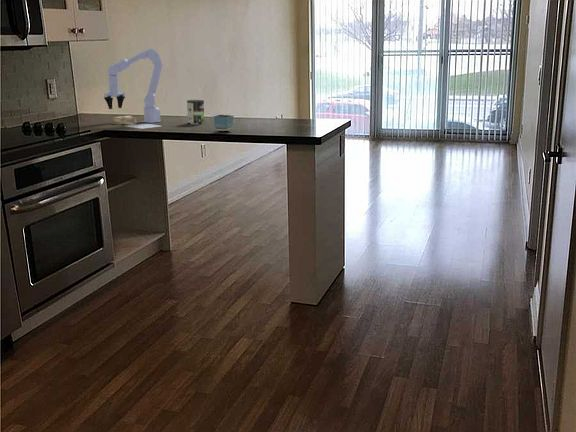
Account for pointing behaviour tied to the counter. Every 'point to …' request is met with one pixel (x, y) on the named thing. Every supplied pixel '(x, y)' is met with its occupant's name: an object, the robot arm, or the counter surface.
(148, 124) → the mat
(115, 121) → the t block
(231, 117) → the flower pot
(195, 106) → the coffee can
